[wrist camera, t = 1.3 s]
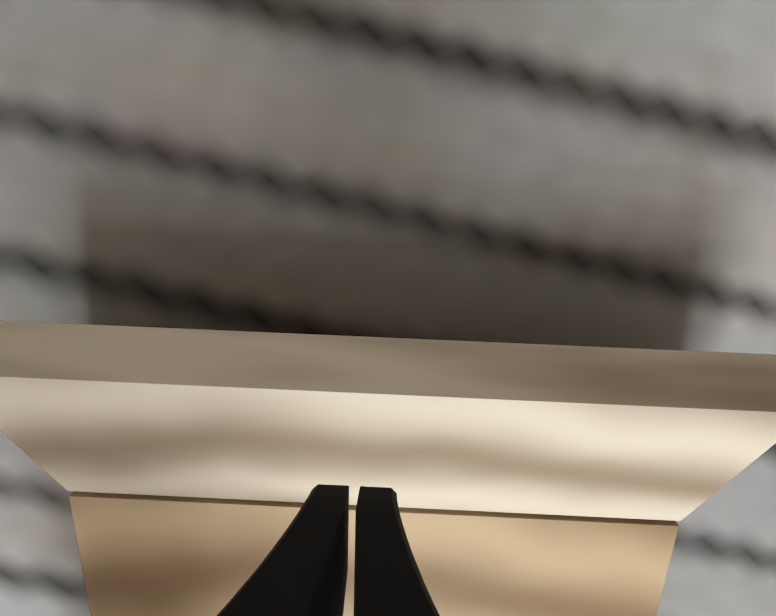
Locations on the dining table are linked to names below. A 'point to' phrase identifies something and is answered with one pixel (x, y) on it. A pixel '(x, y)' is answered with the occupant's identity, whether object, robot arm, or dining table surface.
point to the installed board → (424, 533)
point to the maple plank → (384, 418)
